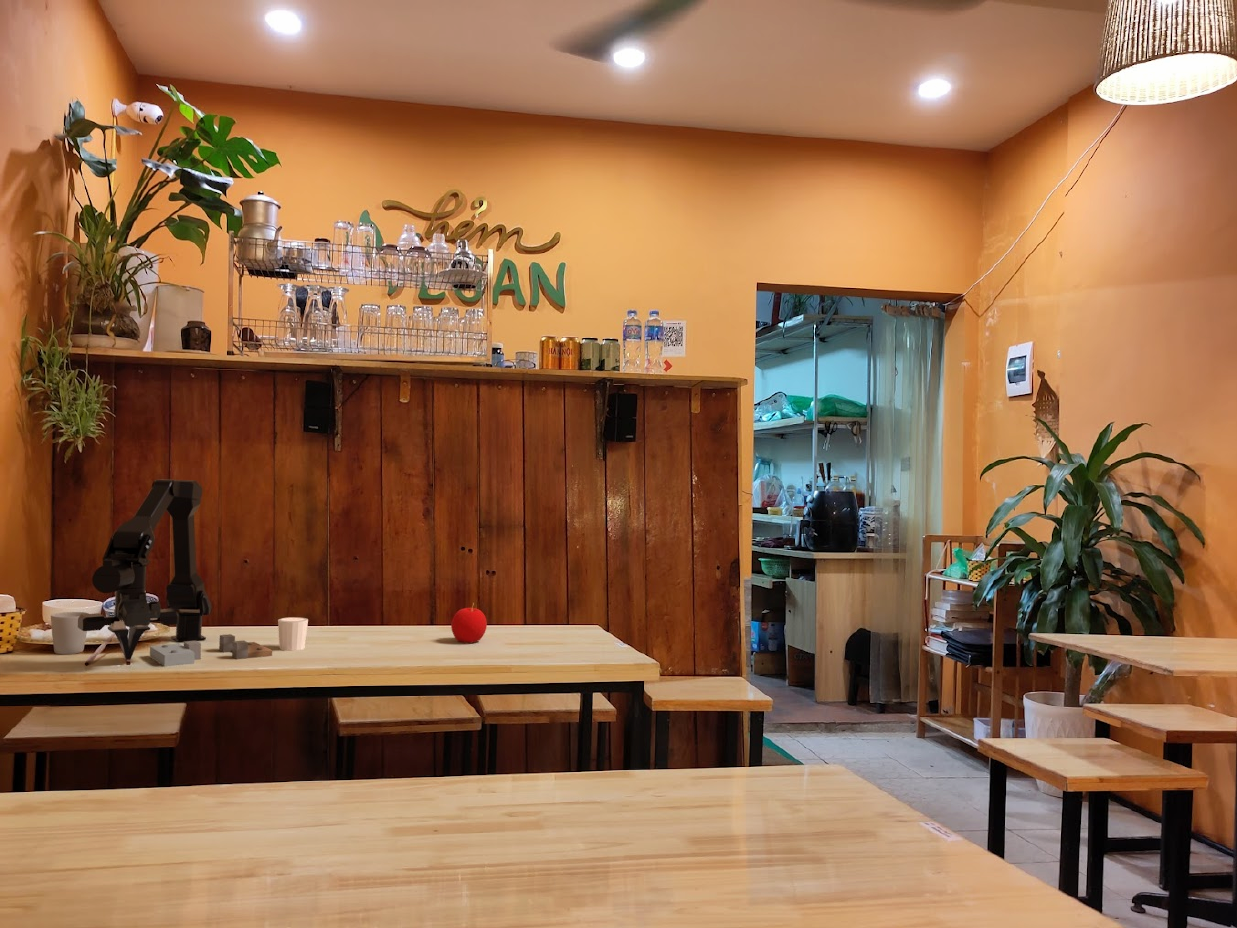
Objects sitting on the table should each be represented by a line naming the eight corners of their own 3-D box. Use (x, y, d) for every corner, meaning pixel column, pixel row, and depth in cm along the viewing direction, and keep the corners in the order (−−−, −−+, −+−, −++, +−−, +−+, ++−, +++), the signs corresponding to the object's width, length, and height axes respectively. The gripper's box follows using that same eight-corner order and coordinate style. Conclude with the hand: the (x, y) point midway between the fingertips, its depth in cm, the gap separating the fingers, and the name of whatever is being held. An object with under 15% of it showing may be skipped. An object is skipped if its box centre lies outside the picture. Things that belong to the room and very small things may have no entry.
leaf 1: (164, 667, 202) (165, 650, 202) (149, 657, 211) (150, 641, 211) (206, 662, 208) (206, 646, 208) (189, 652, 217) (190, 637, 217)
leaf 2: (236, 659, 212) (237, 643, 212) (219, 650, 221) (219, 635, 221) (272, 655, 217) (272, 640, 217) (253, 646, 226) (254, 632, 226)
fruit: (483, 645, 238) (484, 605, 238) (447, 644, 238) (449, 604, 238) (488, 638, 247) (490, 600, 247) (454, 637, 247) (455, 599, 247)
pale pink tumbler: (311, 646, 229) (313, 617, 229) (299, 651, 222) (300, 622, 222) (284, 645, 230) (285, 616, 230) (271, 650, 223) (272, 620, 223)
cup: (45, 655, 208) (46, 617, 208) (56, 647, 218) (58, 610, 218) (84, 654, 211) (85, 616, 211) (93, 646, 220) (95, 609, 220)
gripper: (90, 594, 191) (87, 671, 191) (187, 589, 203) (185, 661, 203) (78, 587, 199) (75, 661, 199) (172, 583, 211) (170, 652, 211)
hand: (127, 659), depth 203 cm, fingers closed
